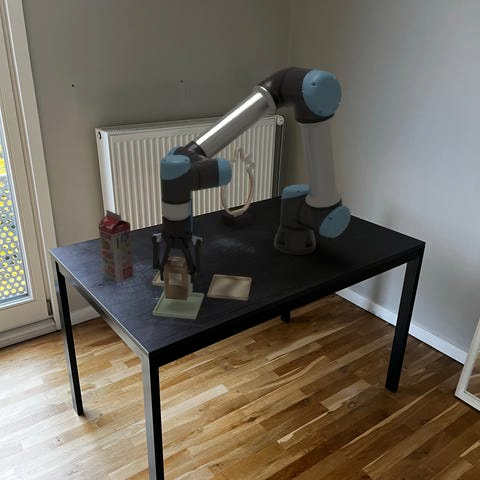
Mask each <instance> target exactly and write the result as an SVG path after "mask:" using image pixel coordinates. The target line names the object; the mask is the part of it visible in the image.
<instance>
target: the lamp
mask: <svg viewBox="0 0 480 480" xmlns="http://www.w3.org/2000/svg"><path fill="white" fill-rule="evenodd" d="M244 152H245V151H244V148H243V147H241V146H236V147H235V148H234V152H233V158H231V157H227V158H225V159H226V160H228V162H229V163H230V165H231V168H232V169H234V165H233V163H234V164H236V163H237V162H238V161H239V158H240V160H241V163H244V164H246V165H250V166H248V167H246V172H247V174H248V177H249V181H250V188H249V193H248V198H247V200H246V202H245V204H244V206H243V207H242V208H239V209H237V208H236V209H233V210H230V209H229V208H228V205H227V202H226V197H225V196H226V195H225V193H226V188H227V185H224V186H220V200H221V205H222V207H223V209H224V211H225V212H224V213H221V216H220V217H221V219H220V222H221V223H222V224H224V225H226V226H228V227H230V228H232V229H234V230H237V229H240V228H243V227H246V226H250V225H252V220H253V219H252V218H253V215H252V214H249V213H247V212H246V211H247V210H248V209H249V207H250V205H251V203H252V200H253V198H254V194H255V186H256V184H255V183H256V182H255V177H254V174H253V173H254V172H252V171H253V170H254V169H255V168H256V164H255V162H254V161H251V159H252V158H253V154H252V153H249V152H247V153H244Z"/></svg>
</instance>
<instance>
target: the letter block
mask: <svg viewBox="0 0 480 480" xmlns="http://www.w3.org/2000/svg"><path fill="white" fill-rule="evenodd" d="M177 257H178V256H169V258H168V261H167V263H166V264H165V266H164V278H165V299H175V300H185V301H187V298H188V296H189V295H188V276H187V274H188V272H189V268H188V265H187V263H186V260H185V257H181V258H177Z"/></svg>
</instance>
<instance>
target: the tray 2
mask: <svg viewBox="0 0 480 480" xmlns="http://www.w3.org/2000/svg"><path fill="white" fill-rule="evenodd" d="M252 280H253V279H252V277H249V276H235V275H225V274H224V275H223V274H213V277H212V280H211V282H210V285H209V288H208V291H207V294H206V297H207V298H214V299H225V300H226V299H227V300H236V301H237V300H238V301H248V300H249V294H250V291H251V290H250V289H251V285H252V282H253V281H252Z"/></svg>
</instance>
